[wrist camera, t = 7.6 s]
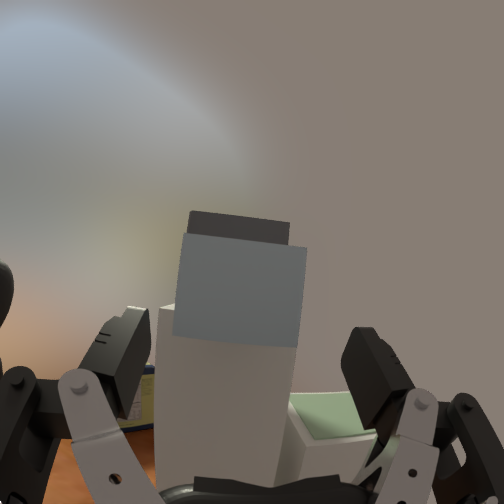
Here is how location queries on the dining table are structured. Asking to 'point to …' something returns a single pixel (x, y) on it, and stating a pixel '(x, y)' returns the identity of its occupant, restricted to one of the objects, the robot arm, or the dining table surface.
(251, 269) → the plug
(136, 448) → the dining table surface
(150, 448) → the dining table surface
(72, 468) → the dining table surface
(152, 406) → the protein box
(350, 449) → the grey stepped fixture
